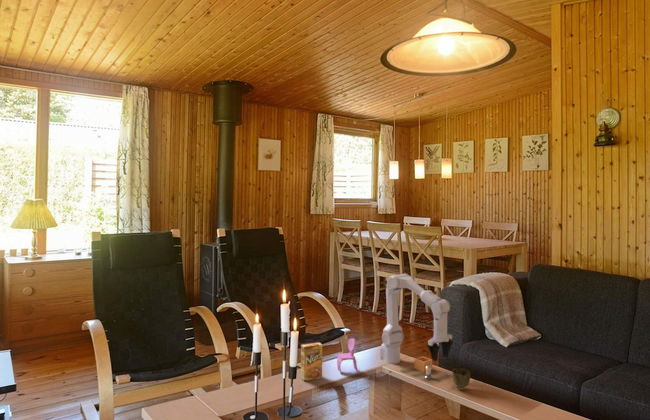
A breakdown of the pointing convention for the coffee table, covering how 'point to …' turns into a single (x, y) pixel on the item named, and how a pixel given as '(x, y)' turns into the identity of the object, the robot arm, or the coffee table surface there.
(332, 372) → the coffee table surface
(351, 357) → the toy chair
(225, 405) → the coffee table surface
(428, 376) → the post
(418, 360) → the collar
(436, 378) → the board
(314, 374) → the candy box
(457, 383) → the cup
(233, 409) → the coffee table surface
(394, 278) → the robot arm
